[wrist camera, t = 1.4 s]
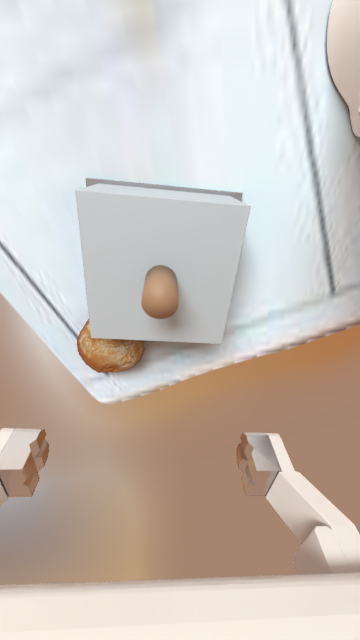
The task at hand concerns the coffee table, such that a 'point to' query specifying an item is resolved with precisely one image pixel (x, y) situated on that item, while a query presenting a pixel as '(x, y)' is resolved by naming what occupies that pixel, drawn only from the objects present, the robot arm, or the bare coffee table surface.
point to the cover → (159, 261)
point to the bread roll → (108, 352)
